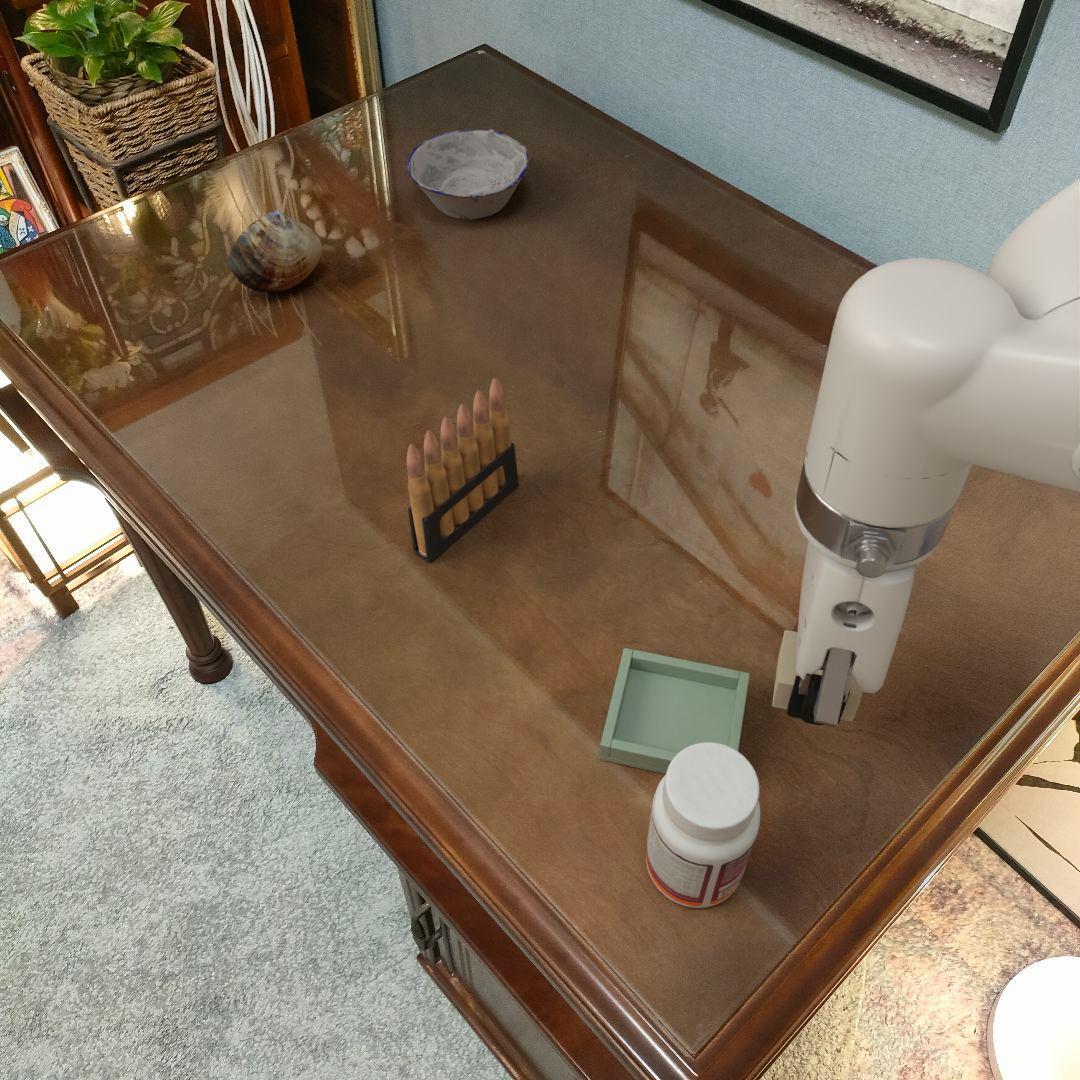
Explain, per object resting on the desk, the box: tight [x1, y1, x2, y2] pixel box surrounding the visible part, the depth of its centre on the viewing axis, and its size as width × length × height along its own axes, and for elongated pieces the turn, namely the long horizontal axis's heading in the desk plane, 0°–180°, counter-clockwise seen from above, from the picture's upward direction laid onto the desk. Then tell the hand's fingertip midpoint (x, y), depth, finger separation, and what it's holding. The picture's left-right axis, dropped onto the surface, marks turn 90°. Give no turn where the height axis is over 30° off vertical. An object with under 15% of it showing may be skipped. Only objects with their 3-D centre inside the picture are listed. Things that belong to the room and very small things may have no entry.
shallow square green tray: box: [599, 647, 751, 775], centre depth 70 cm, size 9×8×2 cm
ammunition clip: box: [406, 376, 520, 563], centre depth 78 cm, size 11×2×12 cm, turn 140°
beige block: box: [771, 629, 863, 723], centre depth 65 cm, size 5×4×3 cm
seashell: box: [226, 209, 323, 293], centre depth 99 cm, size 10×6×8 cm, turn 125°
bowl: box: [406, 128, 530, 221], centre depth 110 cm, size 13×13×5 cm
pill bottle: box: [645, 742, 761, 909], centre depth 60 cm, size 6×6×11 cm
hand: (816, 683), depth 65 cm, fingers closed on beige block, 4 cm apart
